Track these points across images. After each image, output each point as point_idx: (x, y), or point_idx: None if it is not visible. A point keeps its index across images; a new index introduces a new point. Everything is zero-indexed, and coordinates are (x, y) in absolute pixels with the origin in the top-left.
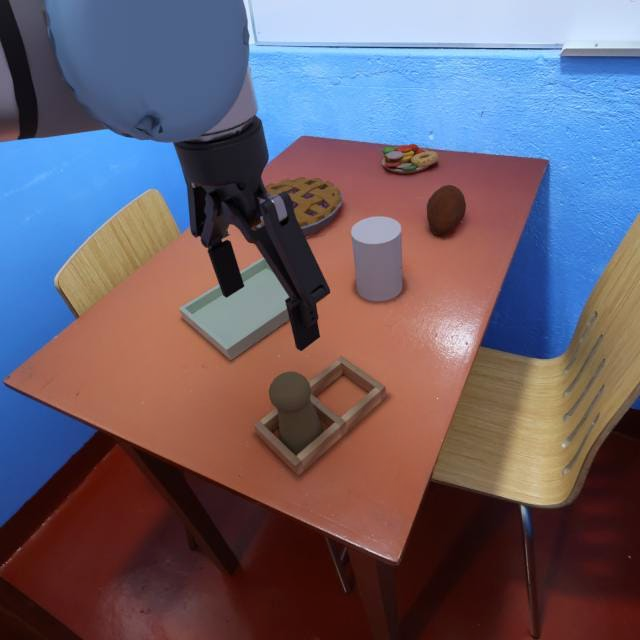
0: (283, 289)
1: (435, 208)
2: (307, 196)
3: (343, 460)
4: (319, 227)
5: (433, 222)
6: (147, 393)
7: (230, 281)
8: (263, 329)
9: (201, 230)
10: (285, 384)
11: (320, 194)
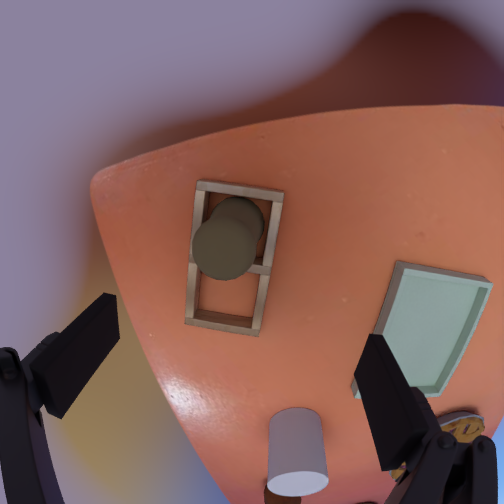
0: None
1: (284, 500)
2: None
3: (174, 224)
4: None
5: None
6: (449, 164)
7: (371, 373)
8: (383, 320)
9: (462, 467)
10: (220, 250)
11: None
